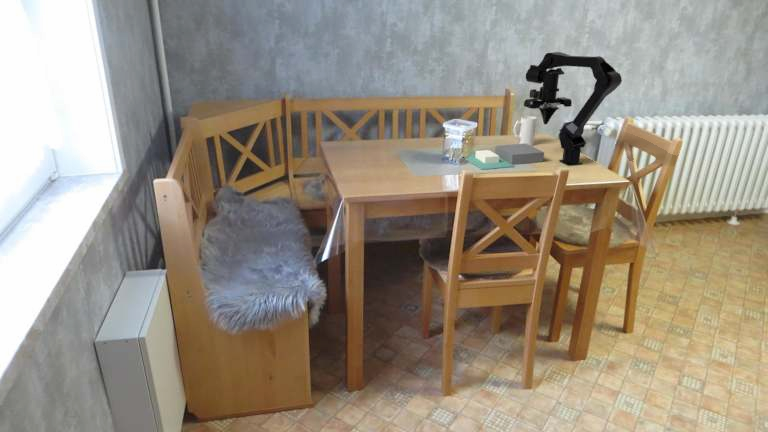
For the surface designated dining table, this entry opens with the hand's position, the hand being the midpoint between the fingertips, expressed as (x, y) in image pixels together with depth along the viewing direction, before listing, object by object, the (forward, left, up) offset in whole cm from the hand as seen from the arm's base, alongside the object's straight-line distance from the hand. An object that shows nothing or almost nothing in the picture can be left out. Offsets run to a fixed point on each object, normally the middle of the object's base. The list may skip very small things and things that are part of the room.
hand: (545, 124), depth 222 cm
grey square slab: (-2, +12, -13) cm, 18 cm away
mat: (-2, +26, -13) cm, 30 cm away
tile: (-2, +26, -11) cm, 28 cm away
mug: (+17, -1, -13) cm, 22 cm away
